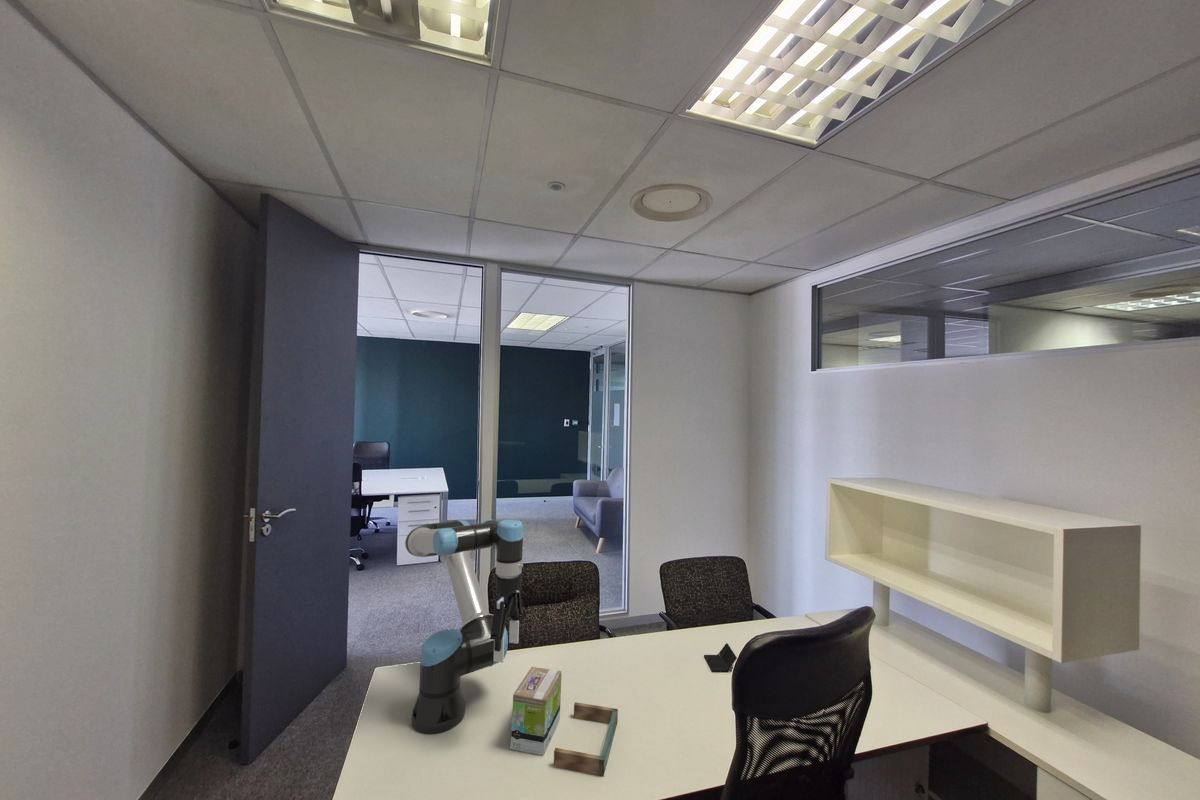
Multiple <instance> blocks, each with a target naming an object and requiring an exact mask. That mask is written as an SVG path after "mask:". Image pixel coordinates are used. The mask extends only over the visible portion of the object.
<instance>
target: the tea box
mask: <svg viewBox="0 0 1200 800" xmlns="http://www.w3.org/2000/svg"><path fill="white" fill-rule="evenodd" d="M528 670H529V671H528V672H527V673H526V675H525V676H524V678H522V681H521V682H520V683H519V685H518V687H517V688H516V689H515V691H514V693H513V694H512V696H513V697H512V709H511V710H512V711H511V713H512V714H511V729H510V730H511V731H510V746H509V747H510V749H509V750H514V751H518V752H523V753H527V754H534V755H539V756H544V754H545V752H546V750H547V748H548V746H549V743H550V742H551V739H552V738H553V735H554V733H555V731H556V729H557V726H558V724H559V722H560V720H561V700H562V699H561V698H562V694H561V693H562V671H561V670H558V669H549V668H543V667H536V666H531V667H530V669H528Z"/></svg>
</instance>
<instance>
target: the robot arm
mask: <svg viewBox="0 0 1200 800" xmlns="http://www.w3.org/2000/svg"><path fill="white" fill-rule="evenodd" d="M523 542H524V525H523V521H521V520H518V519H504V520H503V519H502V520H500V521H499V520H496V519H490V518H489V519H486V520H484V521H482V522H481V523H475V524H470V523H469V522H468V521H467V520H464V519H460V520H458V519H454V520H452V521H451V520H450V521H442V522H434V523H426V524H422V525H419V526H417V527H415V528H413V529H412V530H410V532H409V533H408V534H407V536H406V538H405V541H404V544H405V549H406V550H407V552H408V553H409V554H410V555H412V556H414V557H416V558H417V557H418V558H419V557H421V558H427V557H433V556H434V557H435V556H439V557H438V558H439V560H440V562H441V563H442V564H445V565H446V568H447V569H446V570H447V573H448V575H449V579H450V582H451V587H452V590H453V594H454V597H455V601H456V605H457V608H458V612H459V616H460V619H461V623H462V625H461V627H460V628H459V630H458V629H454V628H450V629H443V630H439V631H437V632H435V633H433V634H431V635H429V636H428V637H427V638H426V639H425V641H424V642H423V643H422V645H421V649H420V656H419V683H418V684H419V688H418V689H419V690H418V696H417V698H416V700H415V704H414V707H413V710H412V713H411V726H412V728H413V729H414V730H415V731H417V732H418V733H422V734H428V735H432V734H440V733H443V732H446V731H449V730H451V729H452V728H454V727H456V726H457V725H458V724H459V723H461V722H462V721H463V719H464V718H465V715H466V714H465V713H466V702H465V700H464V696H463V692H462V689H461V678H462V677H463V676H466V675H468V674H470V673H474V672H477V671H480V670H482V669H485V668H490V667H493V666H494V665H496V664H498V663H503V662H504V659H505V658H506V655H507V651H508V646H509V644H515V645H517V644H519V638H520V637H519V635H520V632H519V629H520V621H522V620H523V616H522V615H523V606H522V605H523V604H522V595H521V591H522V590H521V588H522V583H523V582H522V581H523V580H522V577H523V576H522V572H523V571H522V569H523V567H524V564H523V546H524V545H523V544H524V543H523ZM487 548H488V549H489V548H493V549H495V550H496V560H495V589H496V590H497V591H498V592H499V597H498V598H499V599H498V600H495V601H494V604H493V605H494V607H493V608H494V609H493V614H492V613H489V611H488V609H487V605H486V602H485V599H484V595H483V592H482V589H481V586H480V584H479V580H478V577H477V574H476V570H475V567H474V564H473V561H472V557H471V554H472V551H478V550H483V549H487ZM508 614H509V615H510V618H511V619H510V620H509V632H508V631H507V630H508V629H507V628H506V624H507V618H508ZM508 634H509V635H508ZM508 637H509V638H508Z"/></svg>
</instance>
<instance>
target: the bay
mask: <svg viewBox="0 0 1200 800" xmlns="http://www.w3.org/2000/svg"><path fill="white" fill-rule="evenodd" d="M618 712H619V709H618V708H614V707H607V706H601V705H595V704H588V703H584V702H583V703H582V702H577V701H575V702H574V703H573V719H576V720H581V721H588V722H594V723H600V724H606V725H608V727H607V731H606V735H605V737H604V741H603V745H602V749H601V752H600V755H598V754H597V755H596V754H592V753H586V752H581V751H577V750H572V749H570V750H569V749H564V748H561V747H560V748H559V747H555V748H554V749H553V767H554V768H556V769H561V770H568V771H572V772H578V773H582V774H588V775H594V776H598V777H605V773H606V768H607V765H608V760H609V756H610V753H611V749H612V745H613V743H614V738H615V734H616V730H617V726H618V719H619V718H618Z"/></svg>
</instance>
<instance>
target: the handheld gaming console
mask: <svg viewBox="0 0 1200 800" xmlns="http://www.w3.org/2000/svg"><path fill="white" fill-rule="evenodd" d="M703 657H704V659H705V660H704V661H705V662H706V664H707V665H708V668H709V669H710V671H711V673H714V674H715V673H717V674H718V673H729V670H730V669H731V668H732V666H733V665H734V663H735V662H736V661H737V659H738V658H737V656H736V654H735V653H734V651H733V650H732V648H731V646H730V645H729V643H727V642H726V643H725V644H724V645H723V647H722V648H721V650H720V651H719V652H718V653H717V654H704V655H703Z"/></svg>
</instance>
